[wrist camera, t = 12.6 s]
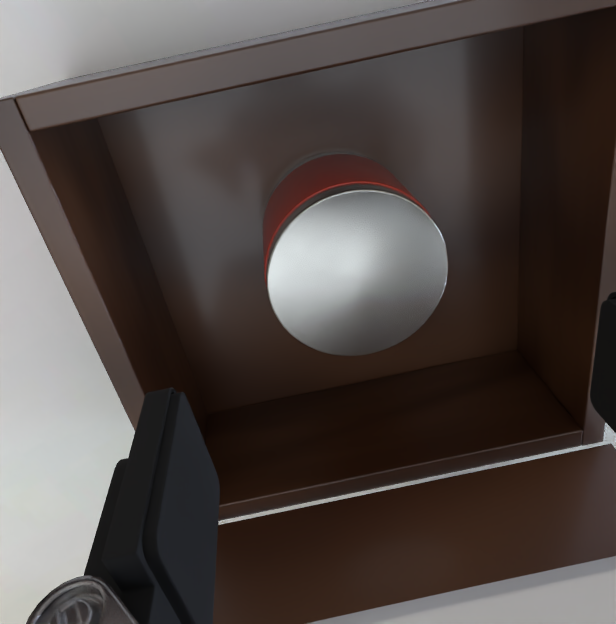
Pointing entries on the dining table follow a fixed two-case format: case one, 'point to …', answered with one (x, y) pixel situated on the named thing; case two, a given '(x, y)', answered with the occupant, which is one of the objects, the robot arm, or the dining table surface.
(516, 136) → the chest
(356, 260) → the tin can
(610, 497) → the chest lid
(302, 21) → the dining table surface
